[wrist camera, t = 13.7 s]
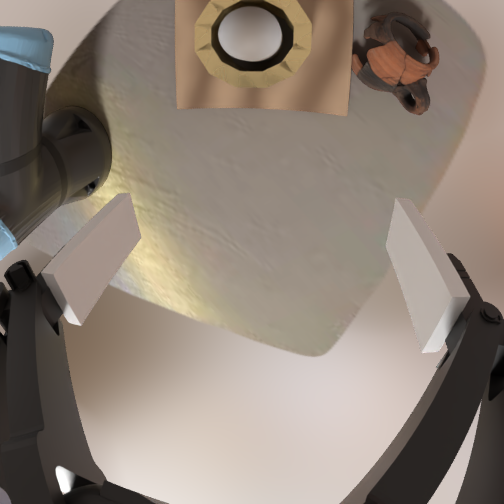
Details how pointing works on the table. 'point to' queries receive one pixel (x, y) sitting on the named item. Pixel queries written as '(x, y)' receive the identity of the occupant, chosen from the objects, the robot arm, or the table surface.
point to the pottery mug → (397, 63)
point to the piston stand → (268, 58)
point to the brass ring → (219, 61)
